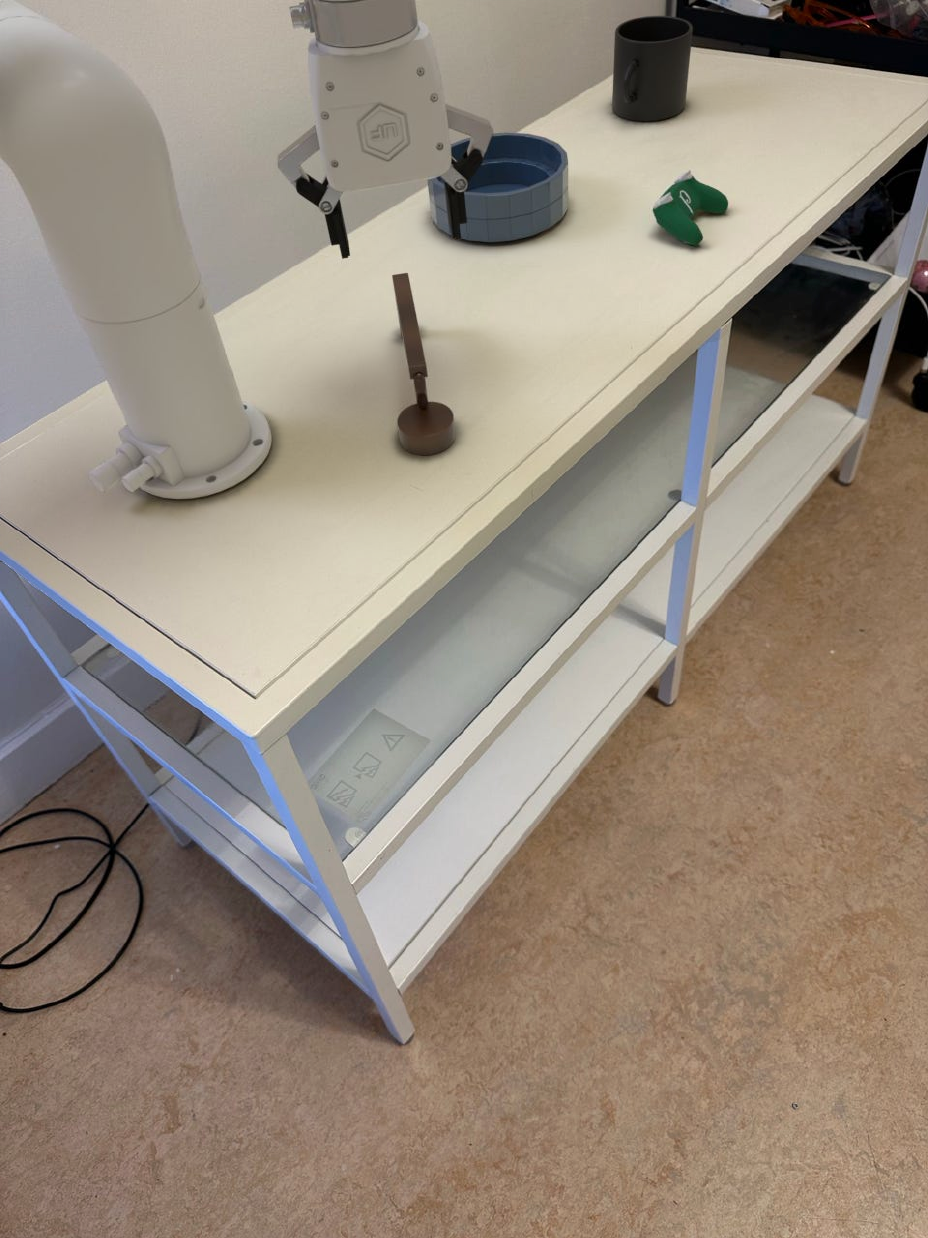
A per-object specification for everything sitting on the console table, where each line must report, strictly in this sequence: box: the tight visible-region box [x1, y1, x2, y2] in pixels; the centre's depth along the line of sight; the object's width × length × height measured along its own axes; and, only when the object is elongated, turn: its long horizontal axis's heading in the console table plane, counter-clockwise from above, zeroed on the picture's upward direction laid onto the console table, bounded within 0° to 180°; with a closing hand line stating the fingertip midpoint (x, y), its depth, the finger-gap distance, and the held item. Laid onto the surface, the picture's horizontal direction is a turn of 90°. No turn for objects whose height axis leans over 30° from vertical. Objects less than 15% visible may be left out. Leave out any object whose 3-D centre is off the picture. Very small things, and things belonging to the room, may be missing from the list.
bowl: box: [426, 131, 569, 243], centre depth 100 cm, size 15×15×6 cm
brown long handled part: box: [391, 272, 457, 456], centre depth 80 cm, size 19×5×6 cm, turn 8°
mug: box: [611, 15, 694, 122], centre depth 113 cm, size 9×12×9 cm
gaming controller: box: [652, 169, 729, 247], centre depth 96 cm, size 9×4×6 cm
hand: (400, 241), depth 78 cm, fingers open, 9 cm apart
